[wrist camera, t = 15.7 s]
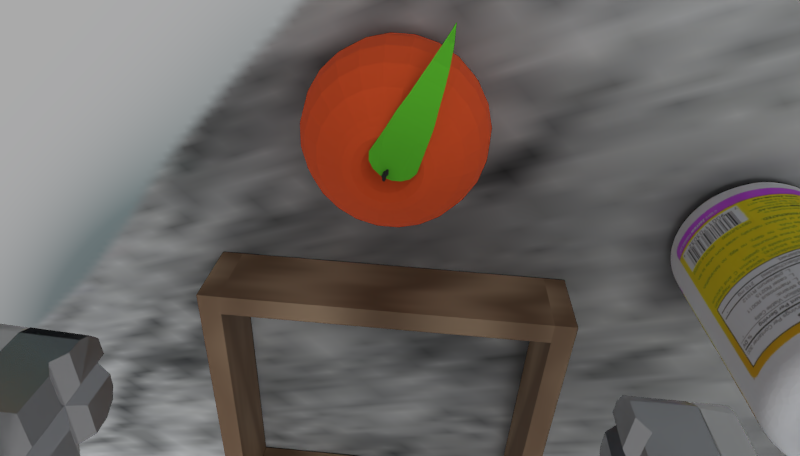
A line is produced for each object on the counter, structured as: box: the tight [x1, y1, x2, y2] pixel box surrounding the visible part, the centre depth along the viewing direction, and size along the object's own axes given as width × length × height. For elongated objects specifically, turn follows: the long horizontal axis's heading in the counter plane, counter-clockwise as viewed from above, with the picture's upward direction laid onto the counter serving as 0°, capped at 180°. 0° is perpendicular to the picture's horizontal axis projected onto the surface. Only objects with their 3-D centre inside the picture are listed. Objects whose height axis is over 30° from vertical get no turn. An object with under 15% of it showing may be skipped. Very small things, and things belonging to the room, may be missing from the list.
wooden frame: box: [196, 252, 578, 456], centre depth 31 cm, size 17×16×4 cm
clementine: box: [300, 23, 492, 227], centre depth 20 cm, size 8×7×7 cm
